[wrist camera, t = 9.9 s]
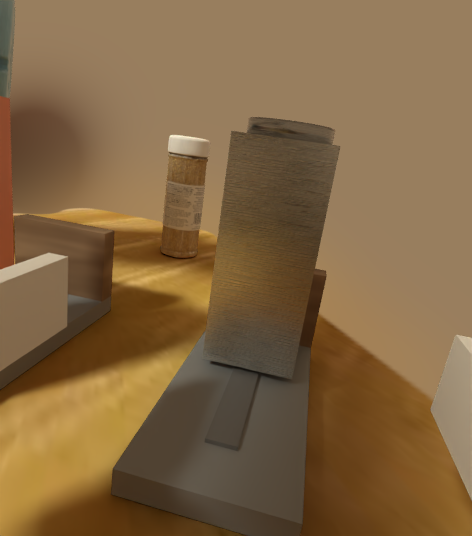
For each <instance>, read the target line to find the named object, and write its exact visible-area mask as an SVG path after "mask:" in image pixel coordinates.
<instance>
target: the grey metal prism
mask: <svg viewBox="0 0 472 536" xmlns="http://www.w3.org/2000/svg"><path fill="white" fill-rule="evenodd" d="M334 134H335V129H332V128H329V127H324V126H320V125H315V124H309V123H303V122H297V121H290V120H281V119H273V118H260V117H251V118H249V121H248V128H247V133H243V132H236V131H231V139H230V147H229V155H228V162H227V169H226V177H225V185H224V193H223V201H222V208H221V216H220V224H219V232H218V239H217V247H216V255H215V263H214V270H213V278H212V286H211V294H210V301H209V309H208V317H207V325H206V333H205V340H204V348H203V356H202V358H203V359H207V360H211V361H216V362H220V363H224V364H228V365H233V366H237V367H241V368H245V369H250V370H254V371H258V372H262V373H267V374H271V375H275V376H279V377H284V378H288V379H292V376H293V371H294V367H295V362H296V357H297V352H298V347H299V342H300V338H301V333H302V328H303V323H304V318H305V314H306V309H307V304H308V299H309V294H310V290H311V285H312V280H313V275H314V270H315V265H316V261H317V256H318V251H319V246H320V241H321V237H322V232H323V227H324V222H325V218H326V212H327V208H328V203H329V198H330V193H331V188H332V184H333V179H334V174H335V170H336V165H337V160H338V155H339V150H340V146H336V145H332V144H333V139H334Z"/></svg>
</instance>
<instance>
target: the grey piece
mask: <svg viewBox="0 0 472 536" xmlns="http://www.w3.org/2000/svg"><path fill="white" fill-rule="evenodd" d="M14 228H15V264H18V263H21V262H24V261H27V260H29V259H32V258H35V257H38V256H41V255H44V254H47V253H53V254H58V255H63V256H68V303H67V327H66V328H64V329H63V330H61V331H60V332H58V333H57V334H55V335H54V336H52V337H51V338H49V339H48V340H46V341H45V342H43V343H42V344H40V345H39V346H37V347H36V348H34V349H33V350H31V351H30V352H28V353H27V354H25V355H24V356H22V357H21V358H19V359H18V360H16V361H15V362H13V363H12V364H10V365H9V366H7V367H6V368H4V369H3V370H1V371H0V389H2V388H3V387H5V386H6V385H7V384H9V383H10V382H12V381H13V380H14V379H16V378H17V377H19V376H20V375H21V374H23V373H24V372H25V371H27V370H28V369H30V368H31V367H32V366H34V365H35V364H37V363H38V362H39V361H41V360H42V359H44V358H45V357H46V356H48V355H49V354H50V353H52V352H53V351H55V350H56V349H57V348H59V347H60V346H62V345H63V344H64V343H66V342H67V341H69V340H70V339H71V338H73V337H74V336H75V335H77V334H78V333H80V332H81V331H82V330H84V329H85V328H87V327H88V326H89V325H91V324H92V323H94V322H95V321H96V320H98V319H99V318H101V317H102V316H103V315H105V314H106V313H107V312H109V311H110V309H111V289H112V268H113V248H114V231H113V230H108V229H103V228H98V227H92V226H87V225H82V224H76V223H71V222H66V221H61V220H55V219H50V218H45V217H39V216H34V215H29V214H25V215H20V216H15V217H14Z"/></svg>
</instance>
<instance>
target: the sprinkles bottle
mask: <svg viewBox="0 0 472 536" xmlns="http://www.w3.org/2000/svg"><path fill="white" fill-rule="evenodd" d="M209 151H210V141H208V140H205V139H201V138H194V137H188V136H180V135H171V136H170V137H169V145H168V152H169V153H170V154H169V164H168V175H167V185H166V195H165V202H164V214H163V233H162V245H161V247H160V250H161V252H162V253H164V254H166V255H169V256H172V257H178V258H189V257H194V256H195V255H197V253H198V250H197V245H198V235H199V229H200V224H201V215H202V207H203V198H204V189H205V188H204V187H205V185H204V183H205V171H206V163H207V161H208V159H207V158H208V157H209Z"/></svg>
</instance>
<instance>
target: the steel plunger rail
mask: <svg viewBox="0 0 472 536" xmlns="http://www.w3.org/2000/svg"><path fill="white" fill-rule="evenodd" d="M325 280H326V271H324V270H319V269H315V270H314V275H313V280H312V285H311V290H310V294H309V299H308V304H307V309H306V314H305V318H304V323H303V328H302V333H301V338H300V342H299V347H298V352H297V357H296V362H295V367H294V371H293V376H292V379H288V378H284V377H279V376H275V375H271V374H267V373H262V372H258V371H254V370H250V369H245V368H241V367H237V366H233V365H228V364H224V363H220V362H216V361H211V360H207V359H203V358H202V356H203V348H204V340H205V333H206V330H205V332H204V333H203V335H202V336H201V338H200V339H199V341H198V342H197V344H196V345H195V347H194V348H193V350H192V351H191V353H190V354H189V356H188V357H187V359H186V360H185V362H184V363H183V365H182V366H181V368H180V369H179V371H178V372H177V374H176V375H175V377H174V378H173V380H172V381H171V383H170V384H169V386H168V387H167V388H166V390H165V391H164V393H163V394H162V396H161V397H160V399H159V400H158V402H157V403H156V405H155V406H154V408H153V409H152V411H151V412H150V414H149V415H148V417H147V418H146V420H145V421H144V423H143V424H142V426H141V427H140V429H139V430H138V432H137V433H136V435H135V436H134V438H133V439H132V441H131V442H130V444H129V445H128V447H127V448H126V450H125V451H124V453H123V454H122V456H121V457H120V459H119V460H118V462H117V463H116V465H115V466H114V468H113V472H112V489H111V494H112V495H115V496H118V497H122V498H125V499H128V500H131V501H135V502H138V503H141V504H145V505H148V506H151V507H155V508H158V509H161V510H165V511H168V512H171V513H174V514H178V515H181V516H184V517H188V518H191V519H194V520H198V521H201V522H204V523H207V524H211V525H214V526H217V527H221V528H224V529H227V530H231V531H234V532H237V533H241V534H244V535H247V536H300V533H301V529H302V525H303V505H304V484H305V462H306V440H307V418H308V397H309V375H310V353H311V344H312V340H313V335H314V331H315V326H316V322H317V317H318V312H319V308H320V303H321V299H322V294H323V290H324V285H325Z"/></svg>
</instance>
